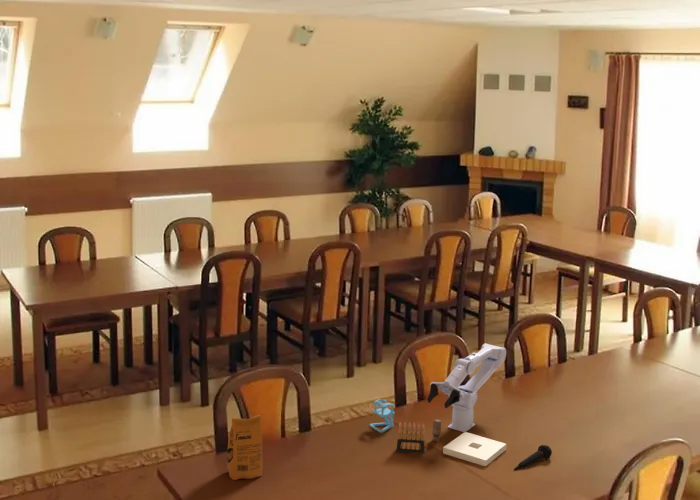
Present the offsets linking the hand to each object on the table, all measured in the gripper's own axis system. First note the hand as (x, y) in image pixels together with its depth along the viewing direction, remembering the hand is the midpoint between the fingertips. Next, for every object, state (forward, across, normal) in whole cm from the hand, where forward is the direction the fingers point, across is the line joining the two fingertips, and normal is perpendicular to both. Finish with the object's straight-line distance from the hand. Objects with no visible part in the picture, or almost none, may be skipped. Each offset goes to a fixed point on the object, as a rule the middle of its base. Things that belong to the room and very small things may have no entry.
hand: (436, 403), depth 348 cm
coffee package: (+67, -40, -10) cm, 79 cm away
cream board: (+3, +16, +16) cm, 23 cm away
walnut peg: (+4, -1, +17) cm, 17 cm away
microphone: (-2, +37, +18) cm, 42 cm away
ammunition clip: (+18, -3, +11) cm, 21 cm away
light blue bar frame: (+7, -24, +16) cm, 30 cm away
